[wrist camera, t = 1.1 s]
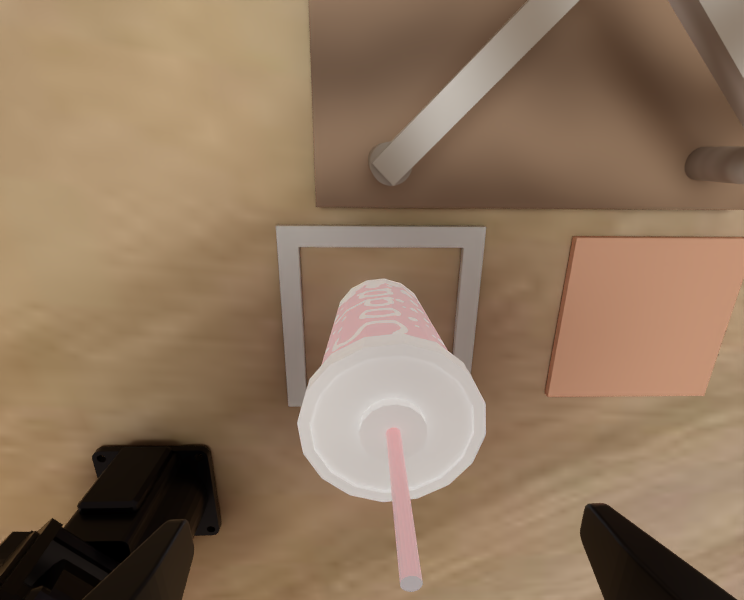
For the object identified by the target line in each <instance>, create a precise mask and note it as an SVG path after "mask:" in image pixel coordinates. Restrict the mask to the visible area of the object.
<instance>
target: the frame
mask: <svg viewBox="0 0 744 600" xmlns="http://www.w3.org/2000/svg"><path fill="white" fill-rule="evenodd" d="M276 235H277V250H278V264H279V278H280V292H281V307H282V321H283V335H284V350H285V364H286V378H287V392H288V407H294V406H302V403H303V400H304V396H305V392H306V389H307V384H306V364H305V345H304V325H303V305H302V286H301V266H300V247H430V248H462V249H461V261H460V273H459V284H458V296H457V307H456V319H455V330H454V342H453V353H452V354H453V355H454V356H455V357H457V358H458V359H459V360H461V361H462V362H463V363H464V364H465V366H466V368H467V370H468V371H469V373H470V374H471V367H472V358H473V348H474V339H475V329H476V320H477V310H478V301H479V291H480V282H481V273H482V263H483V254H484V244H485V235H486V227H485V226H448V225H276Z"/></svg>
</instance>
